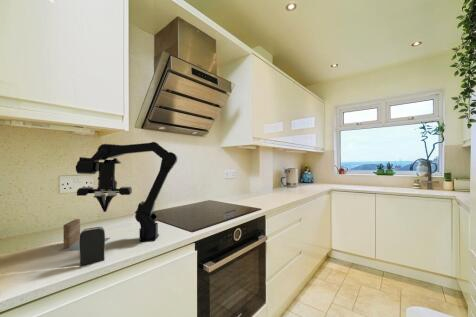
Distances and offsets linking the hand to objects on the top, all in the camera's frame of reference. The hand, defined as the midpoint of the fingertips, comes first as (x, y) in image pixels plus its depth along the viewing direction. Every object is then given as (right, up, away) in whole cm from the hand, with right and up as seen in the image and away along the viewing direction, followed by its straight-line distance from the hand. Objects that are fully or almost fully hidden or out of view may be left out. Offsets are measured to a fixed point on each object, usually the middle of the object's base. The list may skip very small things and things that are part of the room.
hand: (105, 211), depth 86 cm
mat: (-6, -13, -3) cm, 14 cm away
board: (-12, -12, -3) cm, 17 cm away
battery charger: (+7, -13, -17) cm, 22 cm away
